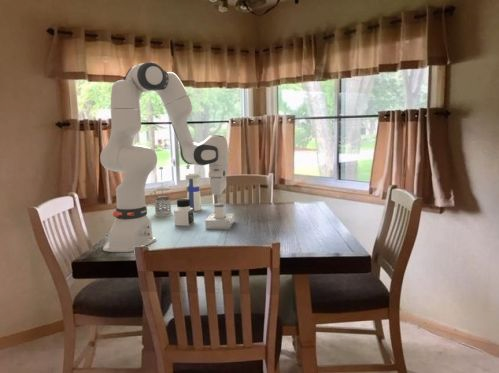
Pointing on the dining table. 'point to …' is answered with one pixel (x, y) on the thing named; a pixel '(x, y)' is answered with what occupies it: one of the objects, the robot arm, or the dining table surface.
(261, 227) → the dining table surface
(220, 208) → the plug
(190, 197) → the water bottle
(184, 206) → the medicine bottle
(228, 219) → the socket
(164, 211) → the french press
